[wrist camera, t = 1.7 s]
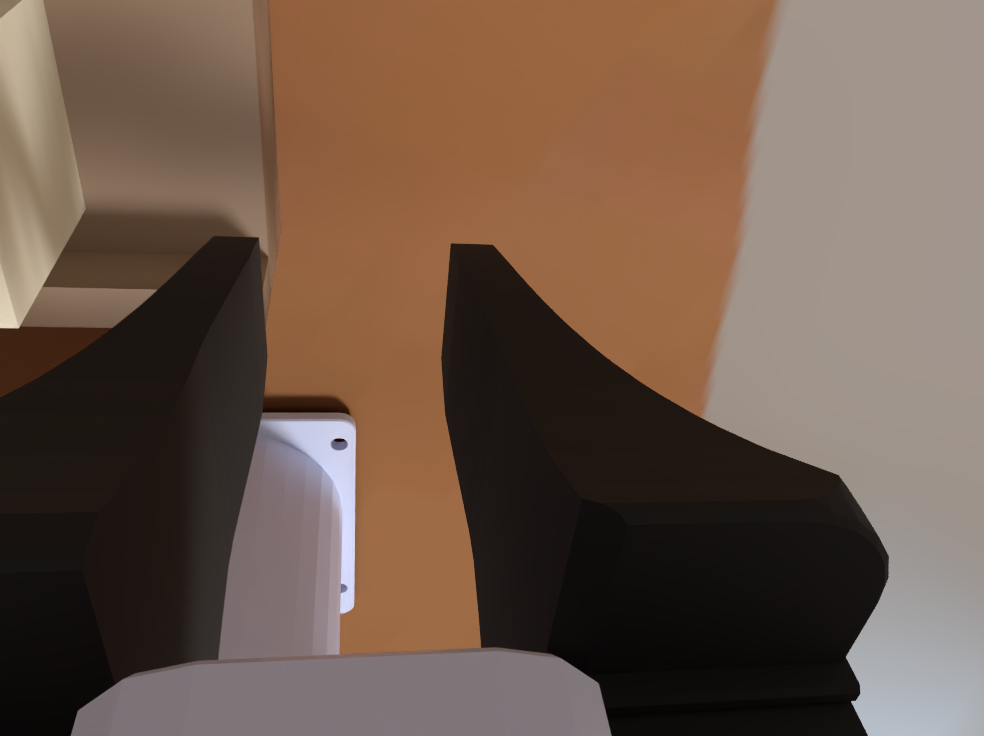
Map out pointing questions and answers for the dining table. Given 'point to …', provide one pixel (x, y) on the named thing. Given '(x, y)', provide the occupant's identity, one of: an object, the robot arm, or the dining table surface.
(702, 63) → the dining table surface
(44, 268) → the maple block
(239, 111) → the trap box
